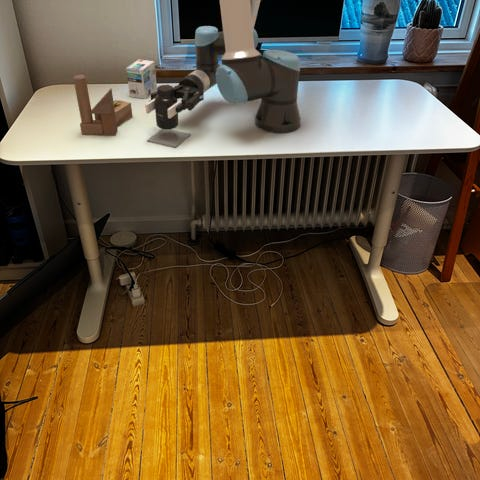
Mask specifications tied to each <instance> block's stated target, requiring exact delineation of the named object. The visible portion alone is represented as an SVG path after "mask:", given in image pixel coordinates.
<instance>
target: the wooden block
mask: <svg viewBox="0 0 480 480" xmlns="http://www.w3.org/2000/svg"><path fill="white" fill-rule="evenodd" d="M72 78H73V79H72V80H73V83H74V90H75V95H76V99H77V106H78V111H79V117H80V121H81V122H80V124H79V127H80V132H81V135H93V136H98V135H99V136H116V134H117V133H118V127H117V123H116V116H115V111H114V110H115V109H114V102H113V101H114V98H113V97H114V95H113V89H112V88H109V90H108V91H107V92H106V93H105V94H104V95H103V96H102V97H101V98H100V100H98V102H97V103H96V104H95V106H93V107H92V106H91V100H90V95H89V94H90V93H89V89H88V82H87V76H85V74H78V75H74V76H73V77H72ZM93 114H101V118H102V122H101V121H100V120H95V119H93V118H94V117H93Z"/></svg>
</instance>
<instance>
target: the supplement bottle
mask: <svg viewBox="0 0 480 480" xmlns="http://www.w3.org/2000/svg"><path fill="white" fill-rule="evenodd" d="M173 88H174V86H172V85H170V84H162V85H158V86H157V90H156V91H157V94H158V95H157V96H156V97H155V109H154V111H155V122H156V126H157V127H158V128H159V129H160V130H161V129H172V130H174V129H175V128H177V127H178V126H179V113H177V114H175V115H174V116H173V117H172V118H168V110H167V109H169V108H170V107H171V106H173V105H174V104H175V103H177V102H178V99H177V98H176V96H175V95H173V94H174V90H173Z"/></svg>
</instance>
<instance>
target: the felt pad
mask: <svg viewBox="0 0 480 480" xmlns="http://www.w3.org/2000/svg"><path fill="white" fill-rule="evenodd" d="M191 136H192V133H190V132H186V131H180V130H177V129H161V128H160V130H158V132H156V133H155V134H153V135H152V136H151V137H150V138H148V139H147V140H146V141H147V143H151V144H156V145H160V146H165V147H170V148H174V149H176V148H177V147H178V146H180V145H181V144H182V143H184V142H185V140H187V139H188V138H189V137H191Z"/></svg>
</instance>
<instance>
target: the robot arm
mask: <svg viewBox="0 0 480 480" xmlns="http://www.w3.org/2000/svg"><path fill="white" fill-rule="evenodd" d="M260 3H261V0H219V6H220V15H221V24H222V31H219V29H218V28H217V27H216V26H211V25H204V26H199V27H197V28H196V30H195V35H194V48H195V70H194V71H192V72H191V73H189V74H187V75H186V76H184V77H183V78H181V80H180V81H179V82H178V85H175V86H173V90H174V94H173V95H175V96H176V98H177V103H175V104H174V105H173V106H171V107H170V108H169V109H167V110H168V118H172V117H173V116H174V115H175V114H177V113H178V114H179V113H181V112H182V111H185V110H187V111H192V110H193V109H195V107H196V106H197V105H198V104H199V103H200V102H202V101H204V100H205V99H204V93H206V92H207V91H208V90H210V89H211V88H213V87H215V86H216V85H217V88H218V91H219V93H220V94H221V96H222V97H223V99H224V100H225V101H226V102H227V103H229V104H231V105H237V104H246V103H247V102H252V101H257V100H260V102H259V104H258V108H257V110H256V112H255V116H254V124H255V126H256V127H257V128H258V129H259V130H262V131H264V132H268V133H274V134H275V133H276V134H282V133H283V134H286V133H290V132H294V131H297V130H298V129H299V128H300V126H301V117H302V116H301V114H300V110H299V104H298V95H299V93H298V91H299V81H300V71H301V61H300V60H301V59H300V57H299V56H298V55H297V54H294V53H292V52H290V51H285V50H281V49H266V50H264V51H263V52H262V58H261V52H259V50H257V49H256V48H257V47H258V44H259V40H258V39H259V36H258V33H257V31H256V29H255V28H254V27H255V24H256V22H257V21H256V20H257V17H258V11H259V8H260ZM219 57H221V59H220V60H221V64H220V63H219ZM157 95H158V94H157V90H156V91H155V92H153V93H152V94H151V95H150V100H149V101H148V102H147V103H146V104H145V106H144V107H145V113H146V114H147V115H148V114H150V113H152V112H153V111H155V97H156V96H157ZM179 99H181V100H180V101H179Z"/></svg>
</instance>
